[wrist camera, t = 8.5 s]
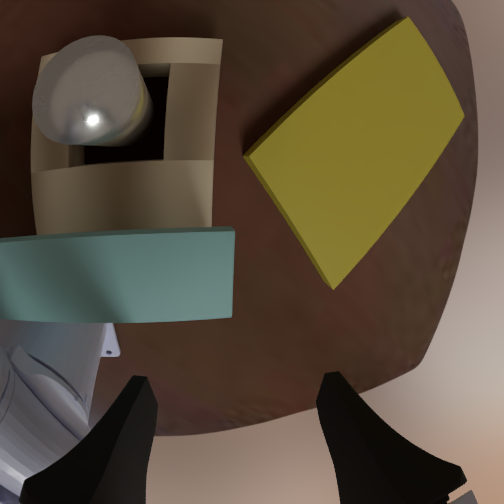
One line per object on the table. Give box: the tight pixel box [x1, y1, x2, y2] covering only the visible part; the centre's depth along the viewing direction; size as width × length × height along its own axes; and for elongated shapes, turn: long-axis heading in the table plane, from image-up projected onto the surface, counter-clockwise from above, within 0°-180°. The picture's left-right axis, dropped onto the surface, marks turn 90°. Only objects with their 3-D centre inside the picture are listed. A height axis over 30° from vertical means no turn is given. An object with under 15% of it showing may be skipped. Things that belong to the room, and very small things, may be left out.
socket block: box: [31, 37, 223, 235], centre depth 14 cm, size 11×13×3 cm
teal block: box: [0, 227, 235, 323], centre depth 11 cm, size 11×4×6 cm, turn 86°
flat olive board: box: [243, 17, 464, 290], centre depth 19 cm, size 12×2×24 cm
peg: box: [32, 35, 155, 147], centre depth 10 cm, size 4×4×9 cm
